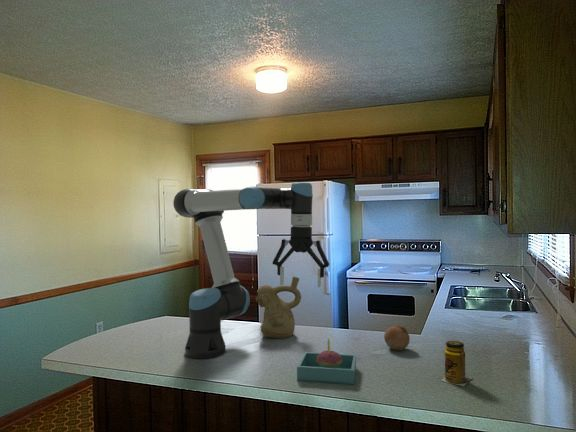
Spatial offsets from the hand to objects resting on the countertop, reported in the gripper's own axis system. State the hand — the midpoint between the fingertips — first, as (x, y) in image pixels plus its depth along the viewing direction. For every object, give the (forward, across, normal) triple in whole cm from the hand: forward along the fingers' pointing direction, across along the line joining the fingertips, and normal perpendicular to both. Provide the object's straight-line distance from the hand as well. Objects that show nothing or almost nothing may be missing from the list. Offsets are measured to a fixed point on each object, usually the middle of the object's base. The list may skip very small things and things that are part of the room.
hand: (300, 285), depth 161 cm
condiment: (+26, +52, -8) cm, 59 cm away
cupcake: (+26, +12, -12) cm, 31 cm away
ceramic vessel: (+28, -15, +29) cm, 43 cm away
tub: (+26, +12, -12) cm, 31 cm away
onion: (+26, +34, +19) cm, 47 cm away
